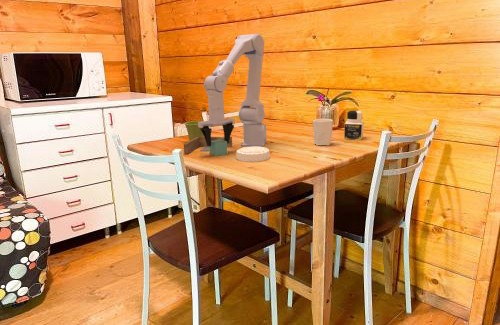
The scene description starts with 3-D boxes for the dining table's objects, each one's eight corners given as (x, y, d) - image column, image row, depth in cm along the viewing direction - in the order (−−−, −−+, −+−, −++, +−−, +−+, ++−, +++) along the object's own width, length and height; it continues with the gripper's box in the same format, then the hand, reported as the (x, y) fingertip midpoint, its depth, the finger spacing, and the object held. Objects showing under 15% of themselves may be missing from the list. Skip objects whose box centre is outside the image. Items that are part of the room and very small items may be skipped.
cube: (221, 151, 148) (220, 139, 147) (227, 154, 144) (226, 141, 143) (209, 153, 146) (209, 141, 144) (215, 156, 141) (215, 143, 140)
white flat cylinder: (235, 163, 132) (234, 153, 131) (237, 154, 143) (237, 145, 142) (269, 162, 131) (269, 152, 130) (269, 154, 143) (269, 145, 142)
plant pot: (203, 144, 163) (202, 124, 160) (182, 144, 165) (181, 124, 162) (209, 140, 172) (208, 121, 169) (190, 139, 173) (188, 121, 171)
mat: (221, 147, 156) (221, 146, 156) (216, 151, 149) (216, 150, 149) (205, 147, 157) (205, 146, 157) (199, 151, 150) (199, 150, 150)
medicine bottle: (344, 139, 163) (344, 111, 160) (346, 136, 170) (347, 109, 167) (361, 140, 161) (362, 112, 158) (363, 137, 167) (364, 109, 164)
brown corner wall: (232, 146, 157) (231, 136, 156) (222, 155, 142) (221, 144, 141) (197, 145, 160) (197, 136, 159) (184, 154, 146) (183, 144, 145)
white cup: (334, 142, 157) (334, 118, 155) (329, 146, 151) (330, 121, 148) (315, 141, 161) (315, 118, 158) (310, 145, 154) (310, 121, 151)
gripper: (203, 111, 133) (205, 148, 137) (238, 107, 141) (239, 143, 144) (194, 109, 139) (197, 145, 143) (229, 106, 147) (230, 140, 150)
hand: (218, 144), depth 144 cm, fingers open, 7 cm apart
